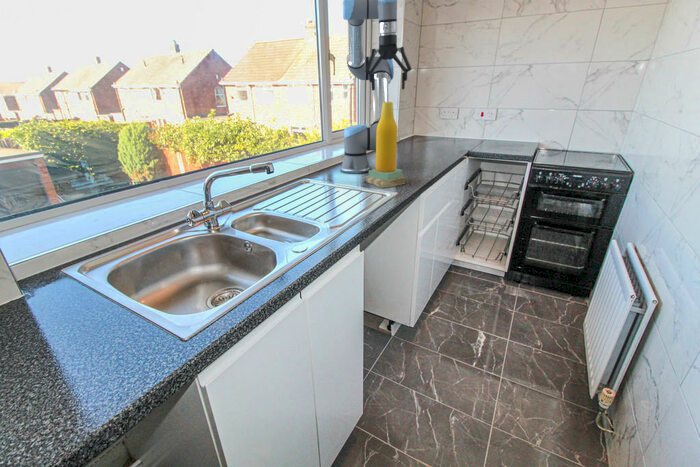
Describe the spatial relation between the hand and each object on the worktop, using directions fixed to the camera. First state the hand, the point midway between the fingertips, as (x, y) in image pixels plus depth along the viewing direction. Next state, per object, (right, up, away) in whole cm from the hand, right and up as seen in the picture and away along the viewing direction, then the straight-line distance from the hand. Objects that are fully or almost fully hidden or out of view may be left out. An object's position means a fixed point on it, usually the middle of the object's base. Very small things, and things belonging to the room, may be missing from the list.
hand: (388, 89), depth 148 cm
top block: (-1, -38, +4) cm, 39 cm away
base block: (-1, -41, +5) cm, 42 cm away
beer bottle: (-1, -36, +3) cm, 36 cm away
